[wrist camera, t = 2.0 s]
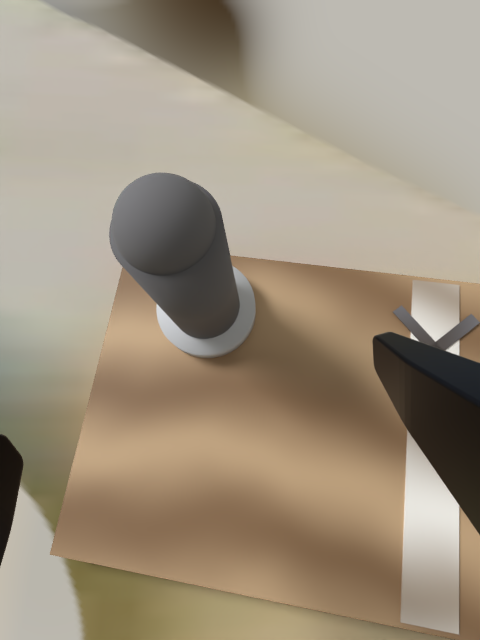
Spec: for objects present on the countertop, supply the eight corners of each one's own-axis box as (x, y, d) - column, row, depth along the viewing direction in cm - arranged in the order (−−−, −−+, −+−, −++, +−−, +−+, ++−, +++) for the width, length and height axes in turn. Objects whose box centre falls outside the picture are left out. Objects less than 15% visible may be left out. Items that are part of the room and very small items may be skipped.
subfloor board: (540, 642, 17) (569, 665, 15) (65, 544, 19) (47, 555, 17) (524, 300, 21) (545, 290, 19) (136, 255, 23) (127, 242, 22)
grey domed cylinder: (248, 364, 19) (229, 299, 9) (153, 351, 20) (33, 275, 10) (261, 273, 21) (258, 126, 10) (172, 263, 21) (84, 113, 11)
